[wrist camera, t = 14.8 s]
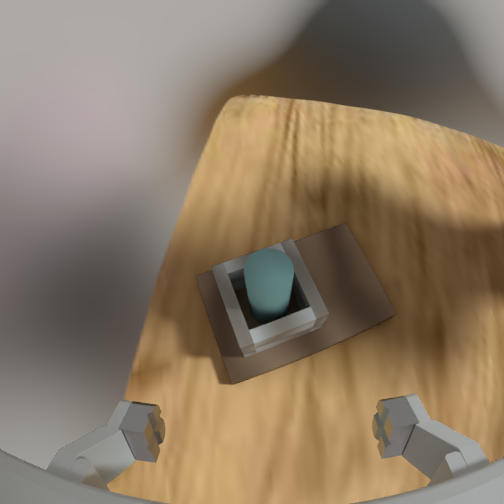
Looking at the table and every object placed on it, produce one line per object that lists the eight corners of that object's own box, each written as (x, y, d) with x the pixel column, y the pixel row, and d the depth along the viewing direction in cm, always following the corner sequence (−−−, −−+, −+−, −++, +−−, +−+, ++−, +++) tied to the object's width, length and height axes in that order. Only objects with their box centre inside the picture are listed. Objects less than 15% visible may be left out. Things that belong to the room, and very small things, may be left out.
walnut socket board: (343, 228, 37) (353, 198, 32) (392, 317, 31) (412, 298, 26) (197, 280, 35) (185, 256, 30) (233, 384, 29) (225, 378, 24)
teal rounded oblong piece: (279, 283, 33) (282, 241, 25) (294, 316, 31) (302, 283, 24) (244, 296, 32) (236, 257, 25) (258, 330, 30) (254, 301, 23)
